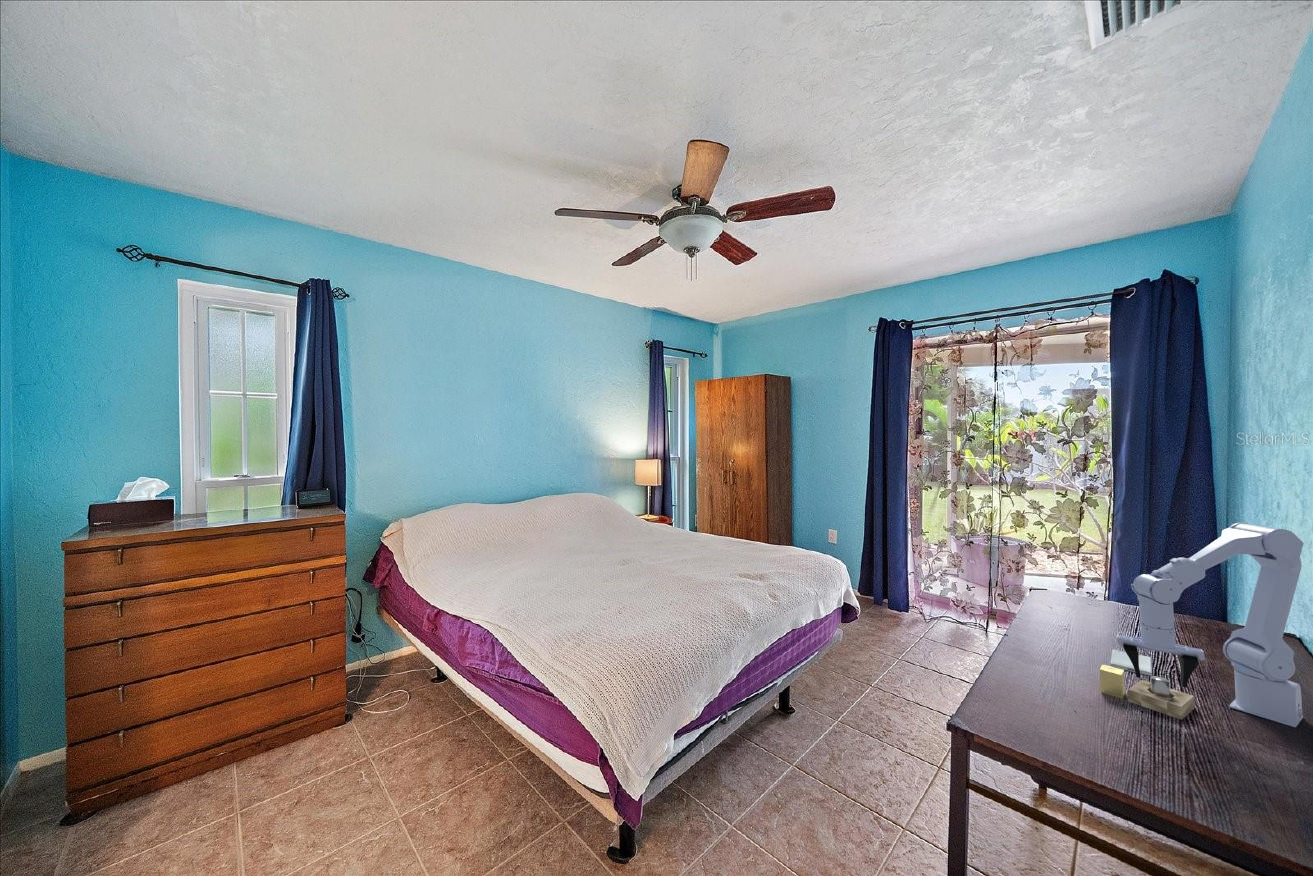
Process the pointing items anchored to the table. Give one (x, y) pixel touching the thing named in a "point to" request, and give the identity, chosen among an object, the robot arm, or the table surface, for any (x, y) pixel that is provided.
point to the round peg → (1160, 686)
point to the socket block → (1161, 700)
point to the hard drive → (1124, 662)
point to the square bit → (1112, 681)
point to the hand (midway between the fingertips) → (1160, 680)
